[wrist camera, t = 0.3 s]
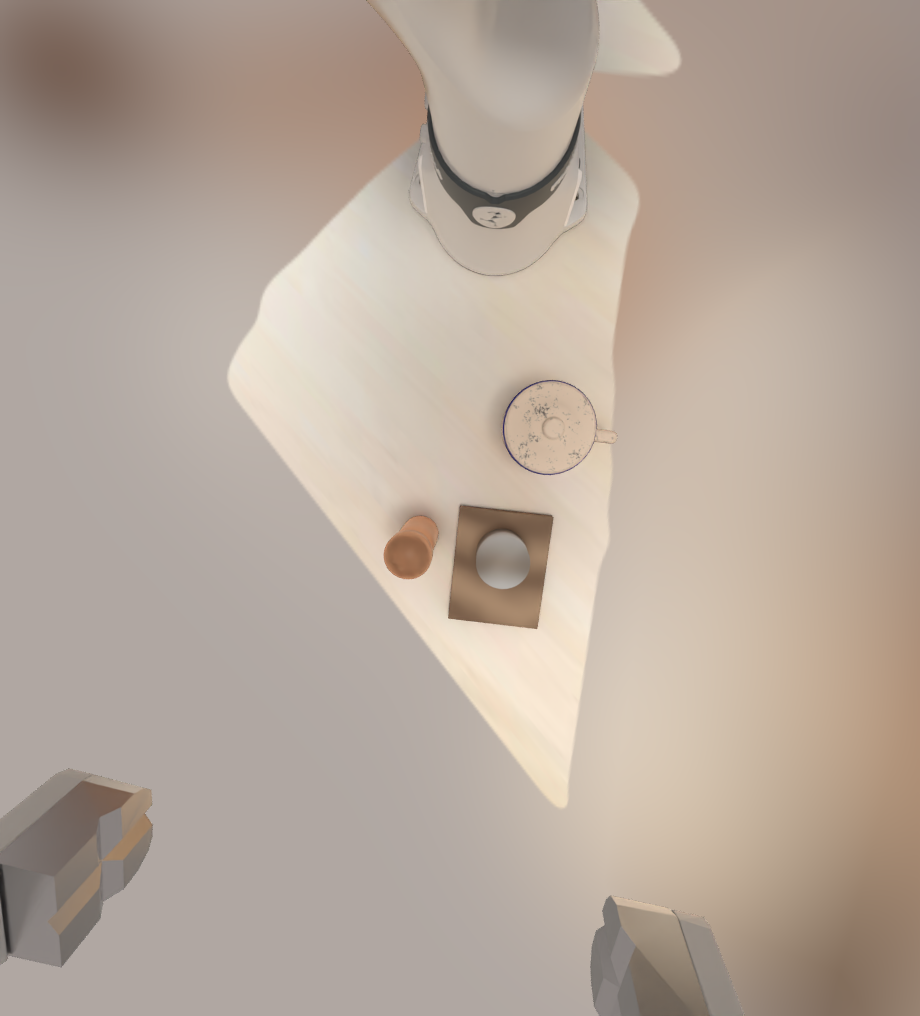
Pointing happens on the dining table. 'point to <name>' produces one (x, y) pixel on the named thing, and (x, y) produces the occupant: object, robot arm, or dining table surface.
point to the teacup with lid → (551, 427)
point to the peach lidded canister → (411, 548)
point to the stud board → (490, 597)
